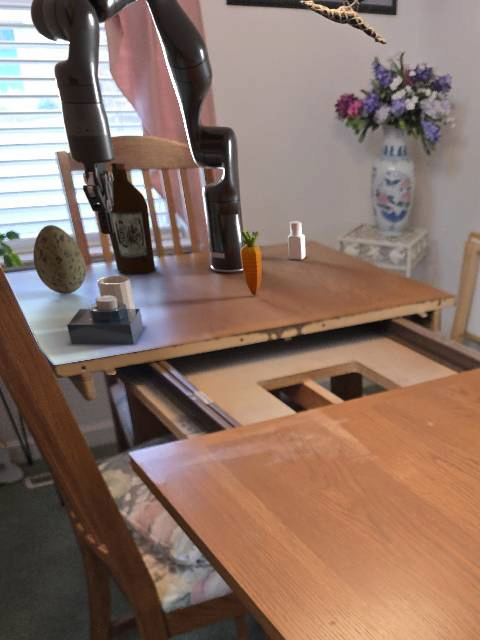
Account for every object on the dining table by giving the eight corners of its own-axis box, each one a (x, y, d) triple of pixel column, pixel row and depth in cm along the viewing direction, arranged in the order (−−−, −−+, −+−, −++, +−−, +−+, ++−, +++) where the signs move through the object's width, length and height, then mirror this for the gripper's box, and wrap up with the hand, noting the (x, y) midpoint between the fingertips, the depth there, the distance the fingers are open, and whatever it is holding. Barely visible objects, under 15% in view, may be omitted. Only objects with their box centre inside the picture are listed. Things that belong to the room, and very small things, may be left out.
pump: (95, 311, 140) (92, 301, 139) (99, 305, 143) (97, 295, 142) (116, 311, 141) (113, 301, 139) (120, 305, 144) (118, 295, 143)
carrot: (267, 293, 173) (262, 227, 164) (261, 299, 169) (256, 232, 160) (247, 292, 173) (241, 226, 164) (241, 298, 169) (234, 231, 160)
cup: (109, 312, 157) (101, 275, 152) (138, 312, 158) (132, 275, 153) (102, 322, 152) (94, 284, 147) (133, 322, 152) (125, 284, 148)
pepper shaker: (288, 259, 200) (286, 223, 194) (292, 256, 203) (290, 220, 197) (302, 260, 199) (300, 224, 194) (306, 257, 202) (304, 221, 197)
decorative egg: (40, 301, 162) (22, 231, 153) (43, 287, 170) (26, 221, 161) (90, 298, 165) (75, 229, 156) (91, 285, 173) (77, 219, 164)
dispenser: (71, 344, 140) (64, 314, 137) (84, 327, 148) (77, 299, 145) (133, 344, 142) (128, 314, 138) (143, 327, 150) (137, 299, 146)
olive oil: (114, 265, 188) (94, 160, 174) (156, 263, 191) (139, 159, 177) (115, 276, 180) (94, 166, 166) (158, 273, 183) (141, 166, 169)
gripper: (100, 136, 122) (121, 241, 133) (117, 127, 133) (135, 225, 143) (55, 135, 122) (79, 241, 132) (75, 126, 132) (96, 225, 142)
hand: (108, 233), depth 137 cm, fingers closed
